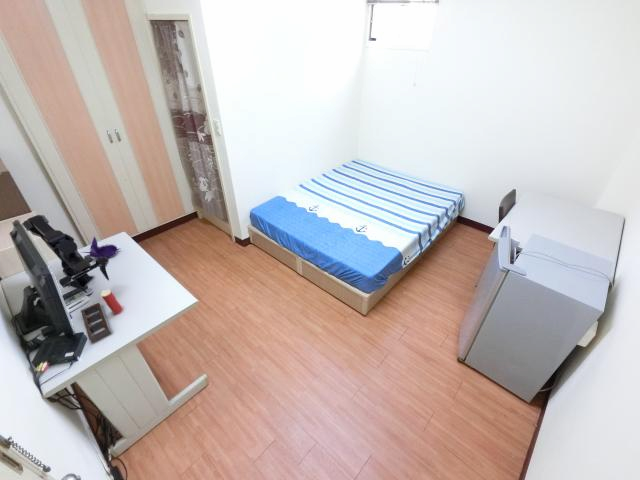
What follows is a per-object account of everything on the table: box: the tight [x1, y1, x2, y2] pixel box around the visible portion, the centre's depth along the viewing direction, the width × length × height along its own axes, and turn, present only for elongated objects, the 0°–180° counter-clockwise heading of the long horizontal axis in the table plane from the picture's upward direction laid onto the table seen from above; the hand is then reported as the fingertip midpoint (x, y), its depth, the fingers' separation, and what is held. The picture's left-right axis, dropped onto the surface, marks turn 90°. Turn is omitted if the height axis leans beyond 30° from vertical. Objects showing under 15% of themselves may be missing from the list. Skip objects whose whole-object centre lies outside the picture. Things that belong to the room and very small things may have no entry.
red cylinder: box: [100, 289, 123, 315], centre depth 130 cm, size 4×4×12 cm
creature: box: [81, 236, 120, 260], centre depth 159 cm, size 9×18×12 cm, turn 123°
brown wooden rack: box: [80, 302, 112, 344], centre depth 128 cm, size 19×7×3 cm, turn 42°
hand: (98, 286), depth 129 cm, fingers open, 9 cm apart
